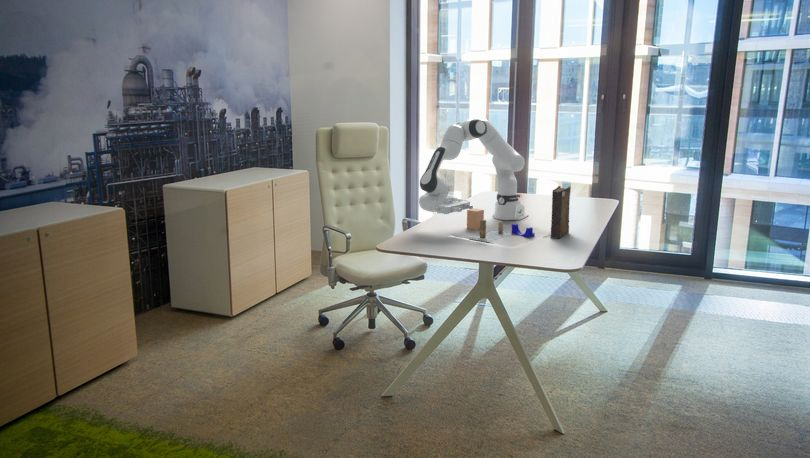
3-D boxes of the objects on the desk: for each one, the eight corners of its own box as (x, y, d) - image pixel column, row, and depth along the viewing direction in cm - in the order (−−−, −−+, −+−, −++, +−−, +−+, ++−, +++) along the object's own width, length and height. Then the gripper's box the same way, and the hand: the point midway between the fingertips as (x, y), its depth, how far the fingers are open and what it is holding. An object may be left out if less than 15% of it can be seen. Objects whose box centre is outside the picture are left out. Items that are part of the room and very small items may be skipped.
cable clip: (534, 238, 327) (534, 227, 326) (528, 240, 325) (528, 228, 324) (517, 234, 337) (518, 223, 336) (511, 235, 335) (511, 224, 333)
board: (494, 232, 341) (494, 219, 340) (513, 235, 333) (513, 222, 332) (469, 239, 325) (469, 226, 324) (488, 243, 318) (489, 229, 316)
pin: (481, 236, 325) (482, 219, 323) (486, 237, 324) (487, 220, 322) (478, 237, 323) (478, 220, 321) (483, 238, 321) (483, 221, 319)
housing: (473, 228, 352) (474, 208, 349) (483, 229, 347) (483, 209, 345) (466, 230, 347) (467, 210, 344) (476, 231, 343) (476, 211, 340)
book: (558, 239, 325) (561, 190, 320) (545, 237, 329) (547, 189, 324) (570, 233, 339) (572, 186, 333) (557, 231, 343) (559, 185, 337)
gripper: (432, 202, 328) (454, 205, 319) (456, 197, 343) (478, 199, 334) (432, 214, 330) (454, 218, 321) (456, 208, 344) (477, 211, 335)
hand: (466, 208), depth 327 cm, fingers open, 8 cm apart
